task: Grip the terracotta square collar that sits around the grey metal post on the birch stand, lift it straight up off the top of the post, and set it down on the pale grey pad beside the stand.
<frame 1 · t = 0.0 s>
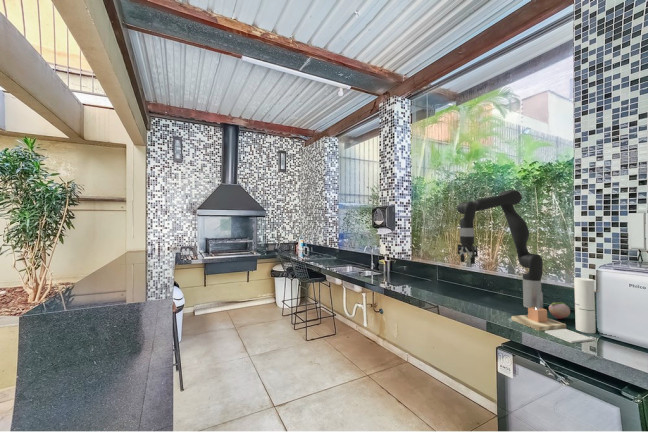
hand: (467, 262, 165), 29 cm above the worktop, tool pointing down, fingers open, 8 cm apart
decorative fruit: (560, 319, 152), on the worktop
collar: (537, 320, 145), point 2 cm above the worktop, touching stand base
cylindrical container: (585, 330, 136), on the worktop
post: (537, 313, 146), on the stand base, point 5 cm above the worktop
stand base: (537, 323, 145), on the worktop
pad: (568, 336, 130), on the worktop
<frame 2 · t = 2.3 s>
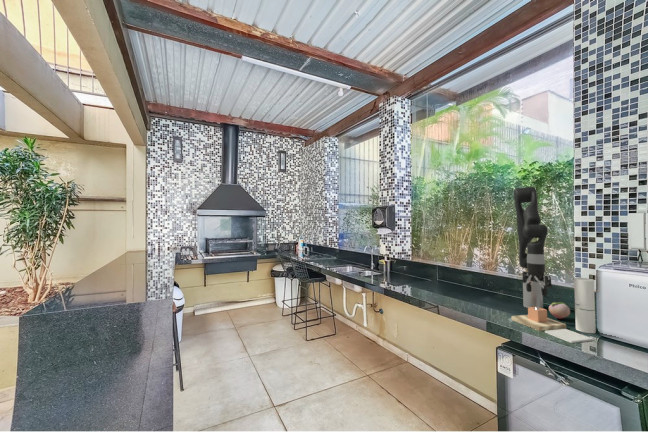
hand: (536, 293, 146), 16 cm above the worktop, tool pointing down, fingers open, 8 cm apart
nothing on the worktop moved.
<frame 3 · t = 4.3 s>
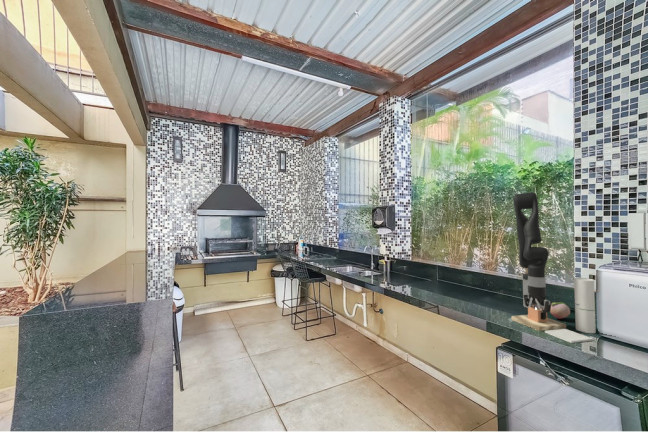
hand: (537, 317, 146), 3 cm above the worktop, tool pointing down, fingers closed on collar, 5 cm apart
collar: (537, 320, 145), point 2 cm above the worktop, touching gripper, stand base
everything else where it was.
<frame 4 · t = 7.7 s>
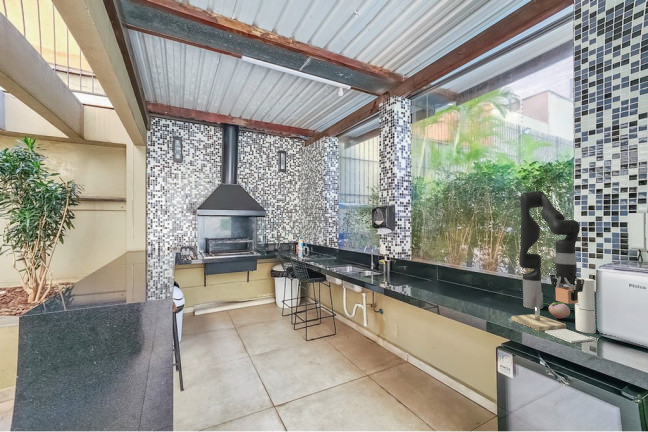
hand: (566, 298, 130), 17 cm above the worktop, tool pointing down, fingers closed on collar, 5 cm apart
collar: (566, 301, 130), point 16 cm above the worktop, touching gripper
everything else where it was.
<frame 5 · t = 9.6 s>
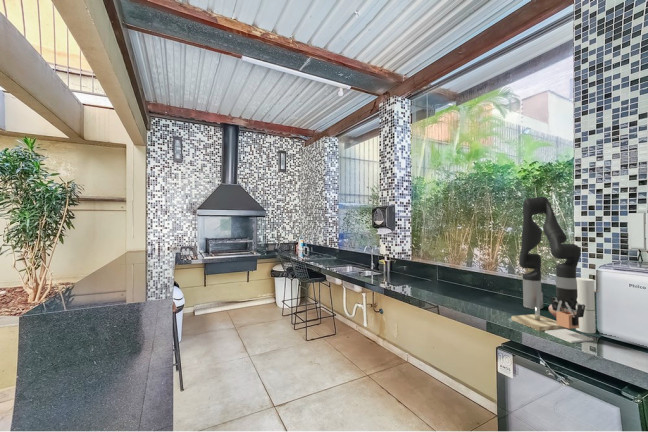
hand: (567, 323, 130), 6 cm above the worktop, tool pointing down, fingers closed on collar, 5 cm apart
collar: (567, 326, 130), point 5 cm above the worktop, touching gripper
everything else where it was.
when the fingers open (4 cm above the worktop, at t = 11.1 s): collar drops 1 cm, resting on pad.
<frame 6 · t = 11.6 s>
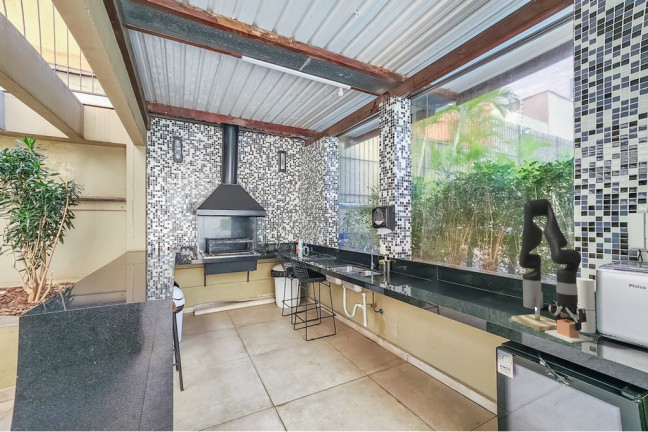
hand: (567, 327, 130), 4 cm above the worktop, tool pointing down, fingers open, 8 cm apart
collar: (568, 334, 130), point 1 cm above the worktop, touching pad
everything else where it was.
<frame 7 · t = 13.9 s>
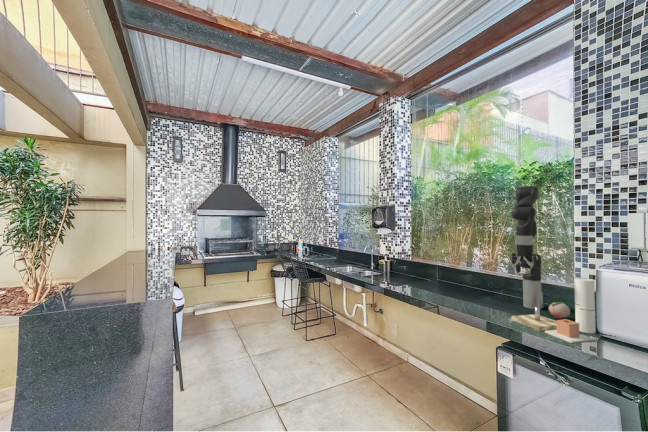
hand: (525, 273, 151), 25 cm above the worktop, tool pointing down, fingers open, 8 cm apart
nothing on the worktop moved.
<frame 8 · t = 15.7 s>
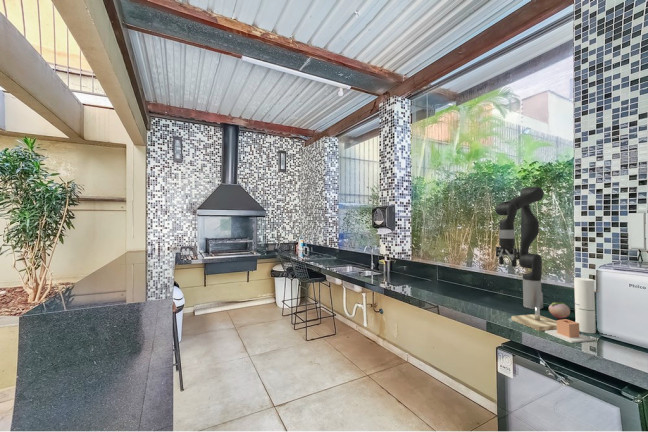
hand: (507, 265, 161), 28 cm above the worktop, tool pointing down, fingers open, 8 cm apart
nothing on the worktop moved.
at the end: collar inside the target area on the pad (0.0 cm from its centre), point 0.8 cm above the pad's base; collar tilted 0°; the gripper is holding nothing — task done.
